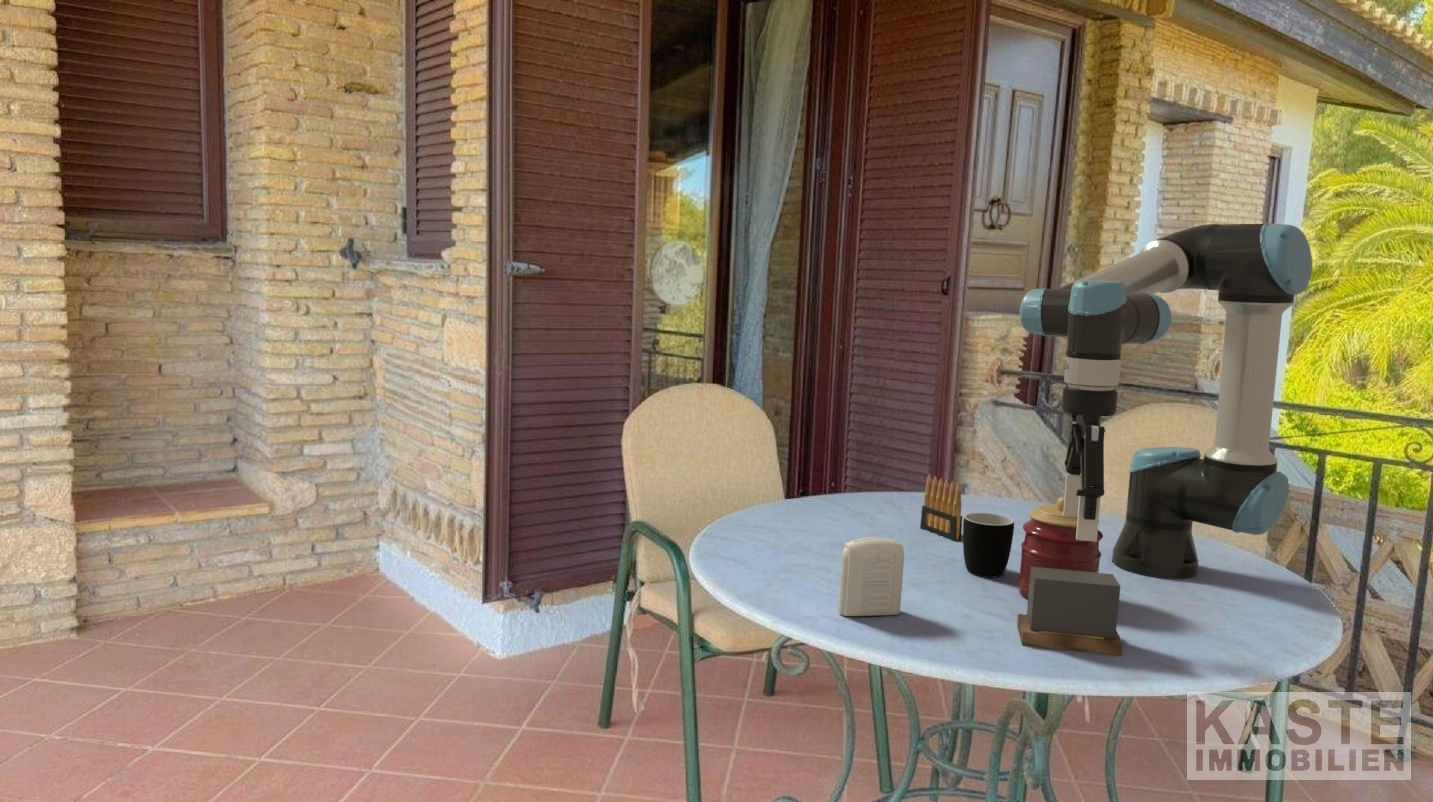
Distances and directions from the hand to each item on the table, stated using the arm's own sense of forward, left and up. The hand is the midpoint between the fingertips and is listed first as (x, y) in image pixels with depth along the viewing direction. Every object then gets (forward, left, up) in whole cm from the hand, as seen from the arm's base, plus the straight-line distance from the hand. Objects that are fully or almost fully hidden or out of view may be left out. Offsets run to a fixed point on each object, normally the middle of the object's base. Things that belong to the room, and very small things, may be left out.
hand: (1079, 527), depth 149 cm
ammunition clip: (+18, -56, -18) cm, 61 cm away
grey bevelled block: (0, 0, -15) cm, 15 cm away
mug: (+11, -33, -18) cm, 39 cm away
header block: (0, 0, -18) cm, 18 cm away
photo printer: (+30, -3, -18) cm, 35 cm away
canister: (-1, -21, -18) cm, 27 cm away
